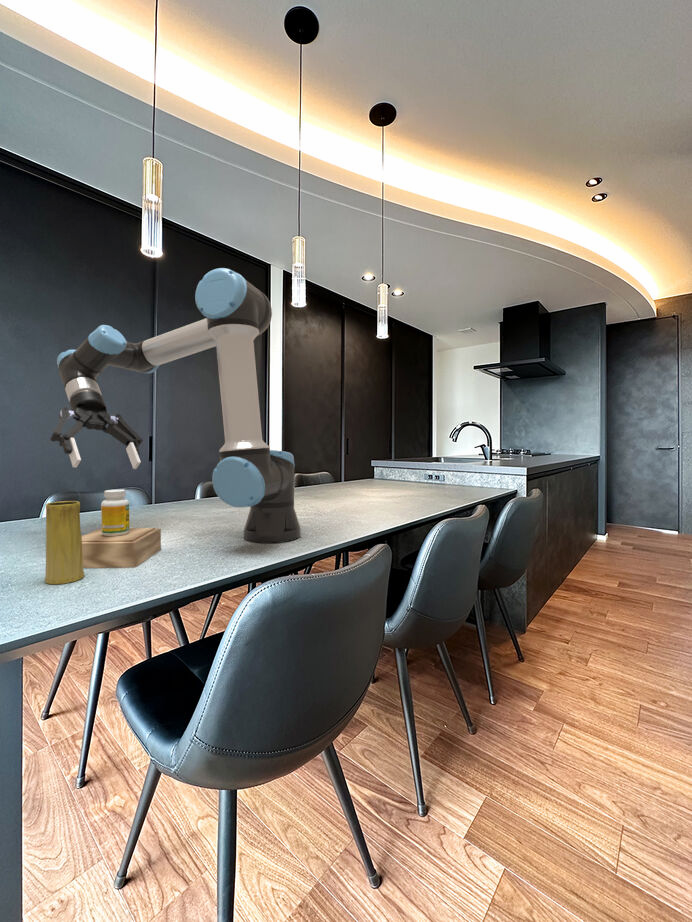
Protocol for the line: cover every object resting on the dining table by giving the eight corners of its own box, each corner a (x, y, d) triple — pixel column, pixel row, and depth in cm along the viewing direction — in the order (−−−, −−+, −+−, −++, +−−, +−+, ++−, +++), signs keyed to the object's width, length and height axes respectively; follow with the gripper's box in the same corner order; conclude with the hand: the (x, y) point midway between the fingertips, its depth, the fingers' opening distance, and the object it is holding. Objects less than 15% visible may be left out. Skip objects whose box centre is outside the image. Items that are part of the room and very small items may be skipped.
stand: (160, 549, 99) (160, 527, 98) (135, 567, 85) (135, 541, 84) (99, 550, 98) (99, 527, 97) (63, 568, 84) (62, 542, 83)
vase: (55, 587, 73) (53, 506, 72) (38, 581, 76) (35, 503, 75) (91, 577, 78) (89, 502, 78) (73, 572, 81) (71, 499, 81)
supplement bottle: (101, 533, 92) (100, 489, 91) (128, 530, 95) (127, 488, 94) (102, 537, 87) (101, 492, 87) (130, 535, 90) (129, 491, 90)
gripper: (128, 416, 118) (152, 475, 110) (22, 402, 98) (41, 473, 90) (140, 397, 115) (165, 457, 107) (33, 379, 95) (53, 451, 86)
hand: (108, 464), depth 98 cm, fingers open, 13 cm apart
